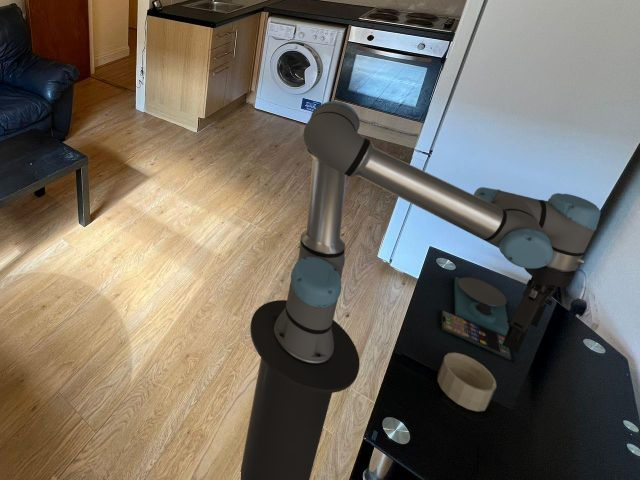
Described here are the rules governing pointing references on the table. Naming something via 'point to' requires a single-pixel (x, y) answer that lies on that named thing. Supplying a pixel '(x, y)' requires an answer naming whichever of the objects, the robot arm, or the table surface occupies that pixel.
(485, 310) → the tare button
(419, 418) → the table surface
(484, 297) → the scale pan
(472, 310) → the scale
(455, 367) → the bowl
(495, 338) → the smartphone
